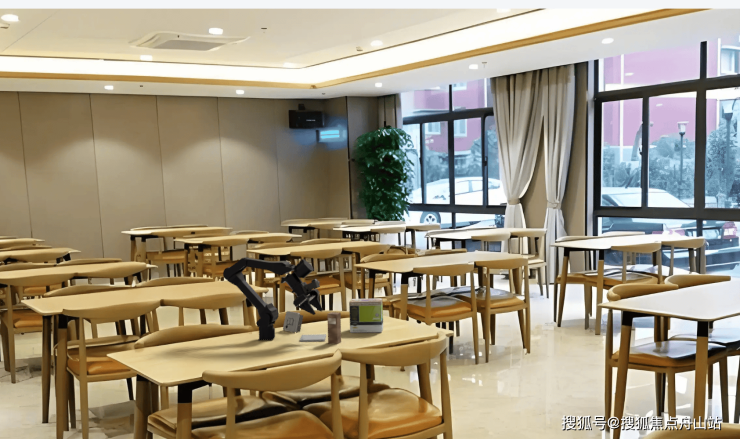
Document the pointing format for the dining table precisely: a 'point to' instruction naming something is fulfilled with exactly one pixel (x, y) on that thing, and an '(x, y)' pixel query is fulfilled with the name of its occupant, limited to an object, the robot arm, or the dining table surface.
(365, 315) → the tea box
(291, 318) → the electrical switch
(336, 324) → the walnut block
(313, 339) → the slate coaster
